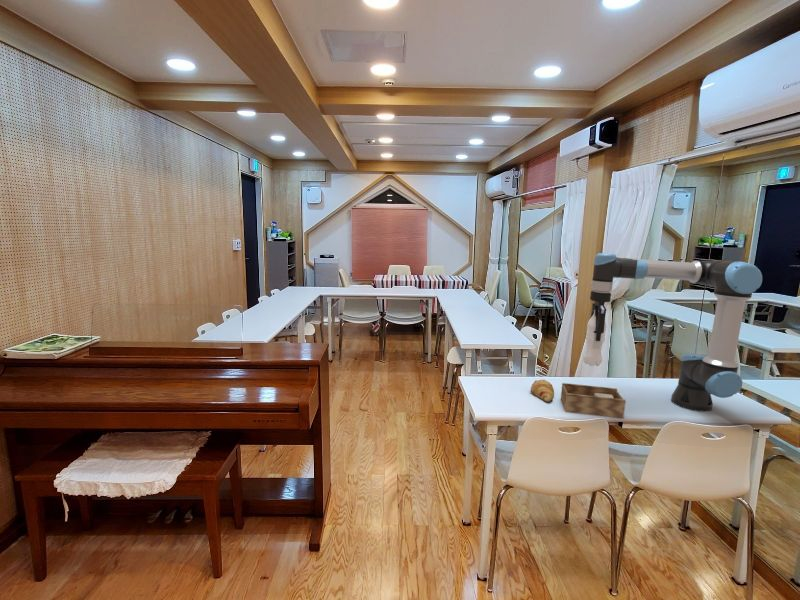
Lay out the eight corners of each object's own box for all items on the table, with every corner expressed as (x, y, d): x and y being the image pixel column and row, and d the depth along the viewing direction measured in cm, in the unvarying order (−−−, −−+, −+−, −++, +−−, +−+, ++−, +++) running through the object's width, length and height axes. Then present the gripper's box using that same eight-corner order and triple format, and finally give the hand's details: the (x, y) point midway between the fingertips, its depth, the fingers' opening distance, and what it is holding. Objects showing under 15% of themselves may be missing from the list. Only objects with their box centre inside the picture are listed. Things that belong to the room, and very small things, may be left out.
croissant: (554, 411, 181) (564, 396, 179) (535, 400, 180) (545, 385, 179) (540, 392, 201) (549, 378, 200) (523, 382, 201) (532, 368, 200)
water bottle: (602, 363, 174) (609, 305, 170) (600, 368, 168) (608, 308, 163) (583, 360, 177) (590, 303, 173) (581, 364, 171) (588, 305, 167)
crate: (614, 407, 178) (616, 388, 176) (623, 420, 165) (625, 400, 164) (560, 401, 183) (562, 382, 181) (564, 413, 170) (566, 394, 169)
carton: (610, 406, 177) (611, 394, 176) (616, 416, 167) (618, 403, 166) (593, 404, 178) (594, 392, 177) (598, 414, 169) (599, 401, 168)
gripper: (586, 287, 178) (580, 339, 181) (596, 294, 159) (589, 351, 162) (605, 289, 176) (598, 341, 180) (617, 295, 157) (609, 353, 161)
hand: (594, 345), depth 171 cm, fingers closed on water bottle, 7 cm apart
